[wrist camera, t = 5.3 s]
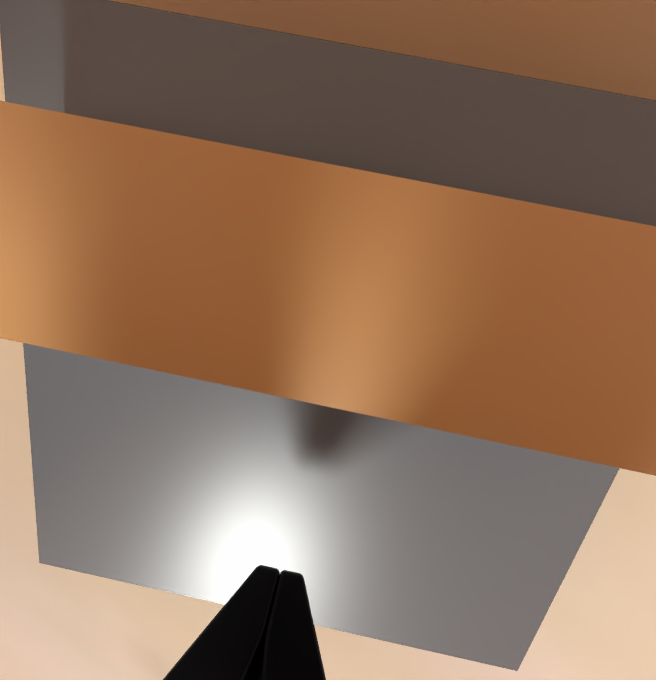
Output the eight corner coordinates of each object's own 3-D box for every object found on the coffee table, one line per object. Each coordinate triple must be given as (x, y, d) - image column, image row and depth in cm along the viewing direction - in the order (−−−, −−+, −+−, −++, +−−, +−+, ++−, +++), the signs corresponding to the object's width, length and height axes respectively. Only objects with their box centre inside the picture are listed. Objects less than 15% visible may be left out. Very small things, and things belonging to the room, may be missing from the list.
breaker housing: (495, 596, 12) (517, 670, 10) (89, 506, 13) (39, 562, 11) (695, 139, 8) (792, 125, 6) (79, 25, 8) (-4, -20, 7)
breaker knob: (610, 380, 8) (752, 495, 5) (60, 268, 8) (-115, 314, 5) (675, 236, 7) (897, 272, 4) (55, 117, 7) (-161, 69, 4)
